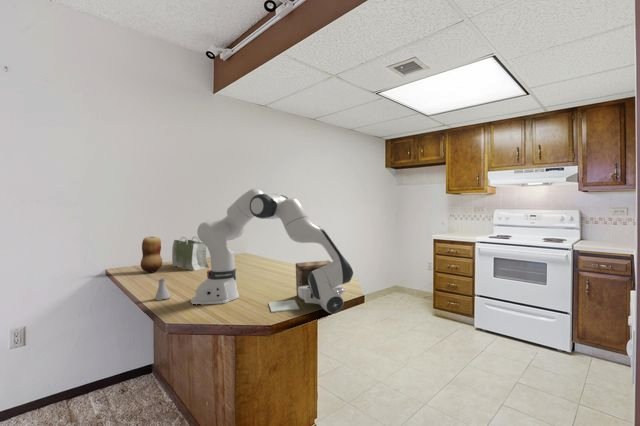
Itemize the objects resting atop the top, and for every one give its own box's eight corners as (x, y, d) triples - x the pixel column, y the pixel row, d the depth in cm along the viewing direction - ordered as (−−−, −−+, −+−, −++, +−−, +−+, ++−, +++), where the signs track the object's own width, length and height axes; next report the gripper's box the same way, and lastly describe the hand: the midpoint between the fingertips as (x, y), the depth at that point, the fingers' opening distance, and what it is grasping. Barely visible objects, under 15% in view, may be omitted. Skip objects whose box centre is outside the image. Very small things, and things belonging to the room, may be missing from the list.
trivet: (271, 312, 133) (271, 311, 133) (268, 303, 144) (268, 302, 144) (299, 309, 136) (299, 307, 136) (294, 301, 147) (294, 299, 147)
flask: (154, 302, 153) (153, 281, 152) (154, 298, 159) (153, 278, 159) (171, 299, 156) (170, 279, 156) (170, 295, 163) (169, 276, 162)
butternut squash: (156, 274, 216) (154, 237, 215) (137, 274, 216) (135, 238, 215) (166, 269, 230) (164, 235, 229) (148, 270, 230) (146, 236, 229)
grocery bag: (210, 267, 232) (209, 236, 231) (192, 271, 222) (191, 238, 221) (188, 263, 253) (187, 234, 252) (171, 266, 242) (170, 236, 241)
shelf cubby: (300, 300, 147) (298, 266, 147) (296, 295, 156) (295, 263, 155) (334, 297, 152) (333, 263, 151) (329, 292, 160) (328, 260, 160)
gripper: (346, 284, 139) (337, 277, 152) (301, 288, 134) (295, 280, 147) (347, 298, 139) (337, 290, 152) (301, 303, 134) (295, 294, 147)
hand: (316, 285), depth 150 cm, fingers open, 8 cm apart
